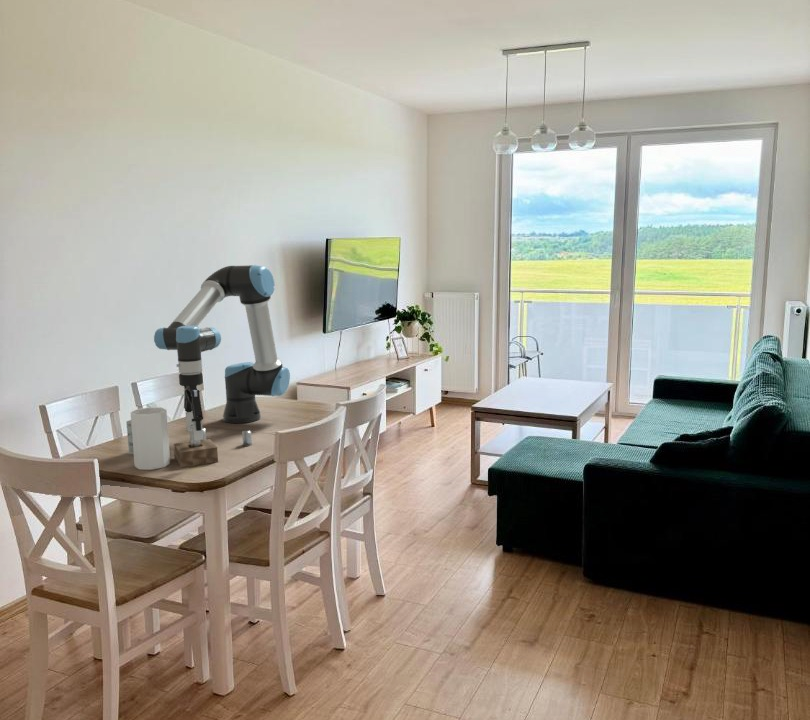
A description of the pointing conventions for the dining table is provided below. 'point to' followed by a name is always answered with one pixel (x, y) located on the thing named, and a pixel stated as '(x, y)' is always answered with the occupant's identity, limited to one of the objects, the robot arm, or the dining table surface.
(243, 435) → the short pin
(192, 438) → the long pin
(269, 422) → the dining table surface
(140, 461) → the cup
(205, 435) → the medium pin
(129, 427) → the ink box
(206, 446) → the hole block
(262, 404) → the dining table surface
